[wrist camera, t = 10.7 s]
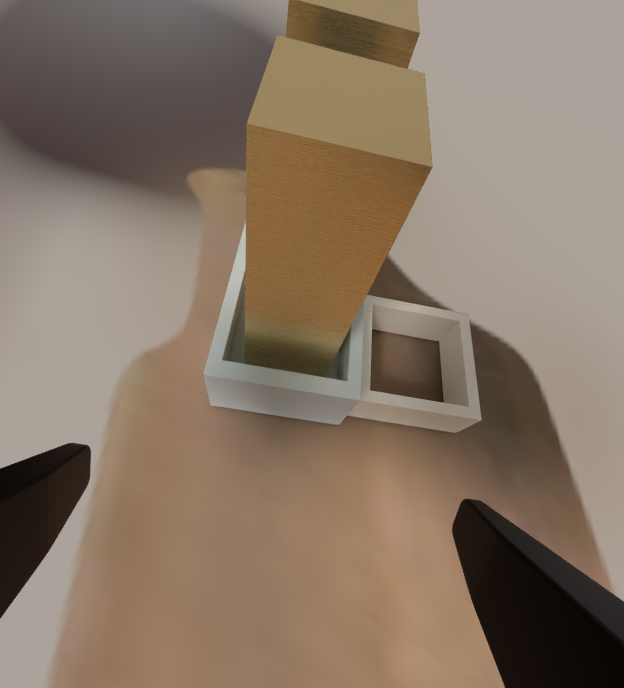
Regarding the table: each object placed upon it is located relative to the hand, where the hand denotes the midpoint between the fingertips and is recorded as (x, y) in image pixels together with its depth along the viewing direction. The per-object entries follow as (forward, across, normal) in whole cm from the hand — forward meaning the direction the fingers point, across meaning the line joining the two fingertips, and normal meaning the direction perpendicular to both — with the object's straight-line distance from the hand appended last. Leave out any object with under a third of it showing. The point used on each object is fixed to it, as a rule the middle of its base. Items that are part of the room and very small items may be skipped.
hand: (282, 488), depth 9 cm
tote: (+12, -7, +1) cm, 14 cm away
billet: (+11, 0, 0) cm, 11 cm away
